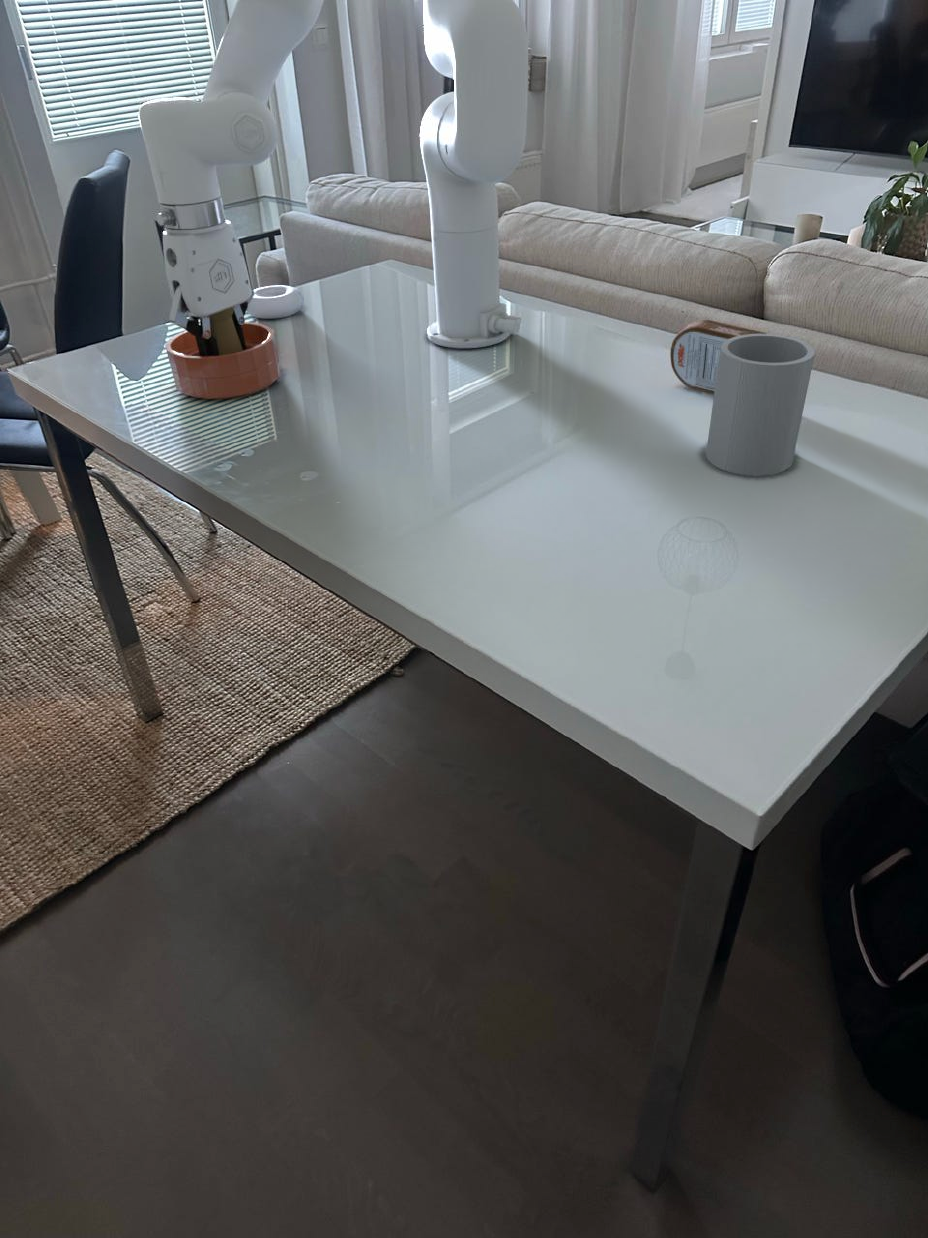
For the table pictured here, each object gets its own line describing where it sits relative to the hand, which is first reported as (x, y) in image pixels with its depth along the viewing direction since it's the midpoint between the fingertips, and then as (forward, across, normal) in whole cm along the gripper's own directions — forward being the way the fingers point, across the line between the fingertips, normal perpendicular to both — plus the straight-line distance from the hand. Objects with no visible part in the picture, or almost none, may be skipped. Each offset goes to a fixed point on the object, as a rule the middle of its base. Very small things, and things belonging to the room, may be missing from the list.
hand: (224, 357), depth 117 cm
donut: (+4, +26, +16) cm, 31 cm away
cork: (+2, 0, 0) cm, 3 cm away
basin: (+3, 0, 0) cm, 3 cm away
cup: (+3, +12, -70) cm, 71 cm away
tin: (+3, +27, -61) cm, 66 cm away
